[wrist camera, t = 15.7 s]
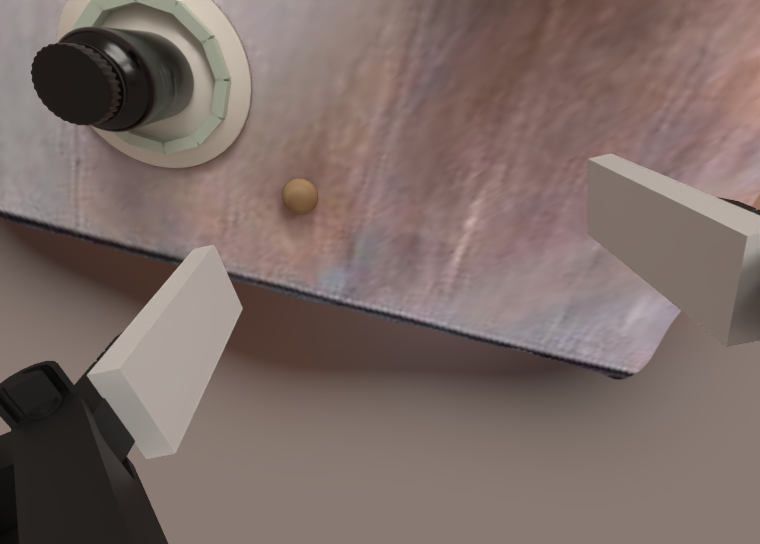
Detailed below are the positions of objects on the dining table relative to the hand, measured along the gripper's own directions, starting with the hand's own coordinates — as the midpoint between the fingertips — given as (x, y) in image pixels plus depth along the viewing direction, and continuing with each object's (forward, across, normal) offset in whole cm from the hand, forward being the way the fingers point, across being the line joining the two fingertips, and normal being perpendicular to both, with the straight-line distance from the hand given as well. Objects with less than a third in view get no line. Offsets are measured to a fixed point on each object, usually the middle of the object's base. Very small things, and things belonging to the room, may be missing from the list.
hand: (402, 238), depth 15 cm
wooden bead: (+29, -9, -5) cm, 30 cm away
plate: (+29, -18, +8) cm, 35 cm away
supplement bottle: (+28, -18, +8) cm, 34 cm away
